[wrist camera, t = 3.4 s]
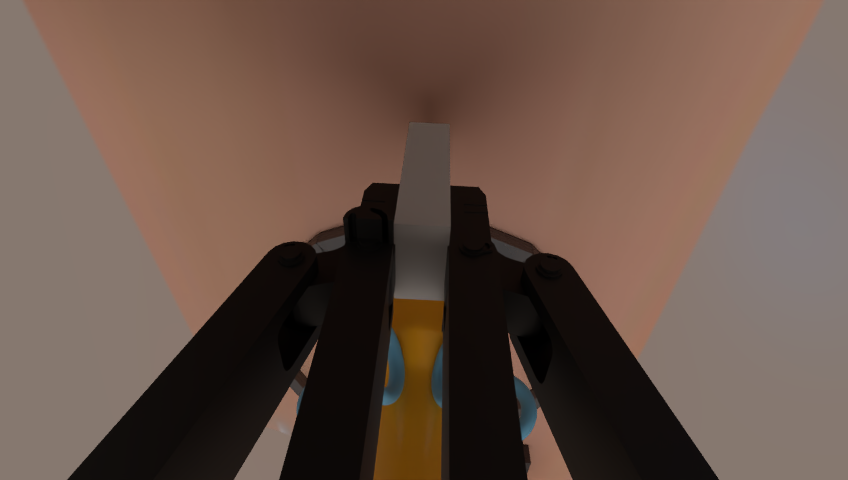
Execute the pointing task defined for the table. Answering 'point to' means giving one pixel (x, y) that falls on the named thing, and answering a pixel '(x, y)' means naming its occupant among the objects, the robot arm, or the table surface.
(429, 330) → the cylinder
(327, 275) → the robot arm
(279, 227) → the table surface
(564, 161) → the table surface
